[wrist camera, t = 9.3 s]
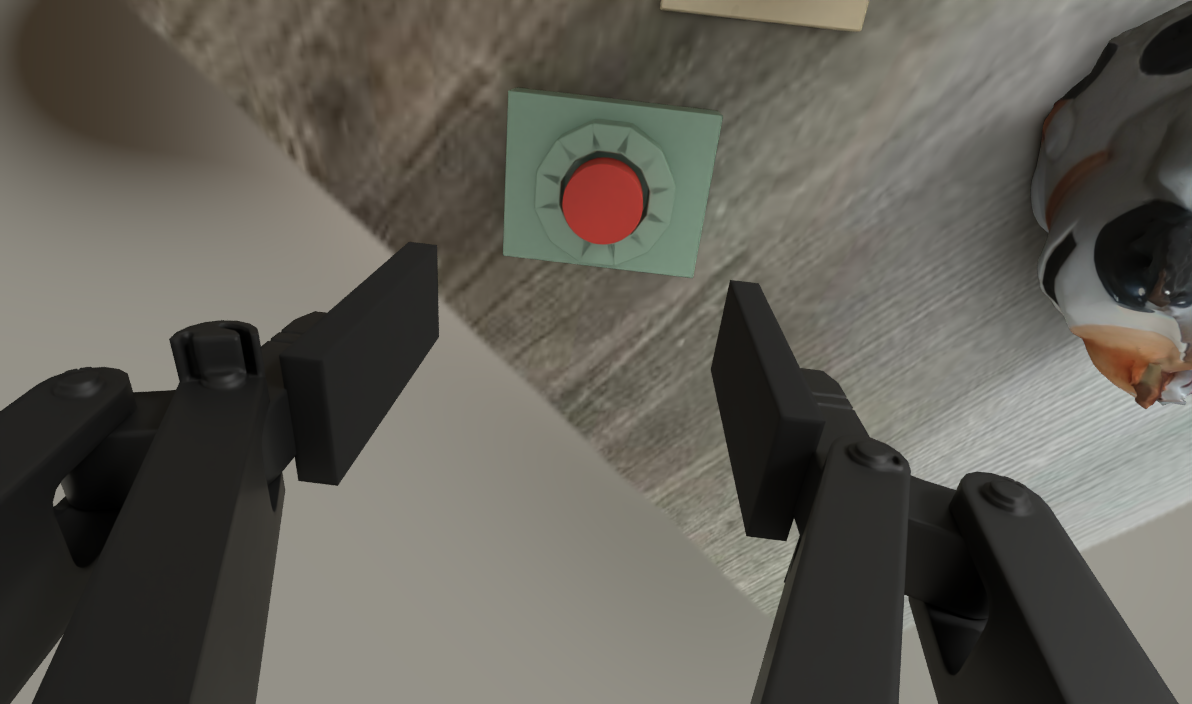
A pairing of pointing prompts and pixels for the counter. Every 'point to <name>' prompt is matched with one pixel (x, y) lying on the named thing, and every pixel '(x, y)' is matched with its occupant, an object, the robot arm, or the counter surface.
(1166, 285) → the lucky cat figurine
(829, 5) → the beige lever stand
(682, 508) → the counter surface
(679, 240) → the block
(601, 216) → the red button
